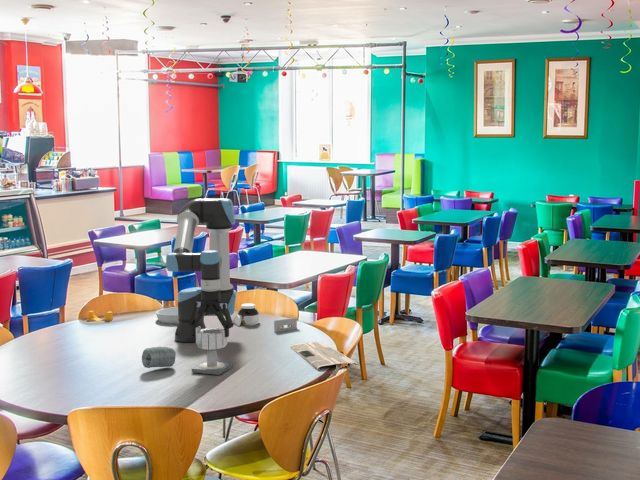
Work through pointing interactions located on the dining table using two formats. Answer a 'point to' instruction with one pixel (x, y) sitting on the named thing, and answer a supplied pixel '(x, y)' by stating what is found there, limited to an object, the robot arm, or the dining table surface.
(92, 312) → the pipe clamp
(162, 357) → the spool
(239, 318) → the spread jar
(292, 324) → the cassette
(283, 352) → the dining table surface
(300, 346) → the newspaper
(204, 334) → the ring
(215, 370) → the post block
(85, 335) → the dining table surface
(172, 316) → the serving bowl
